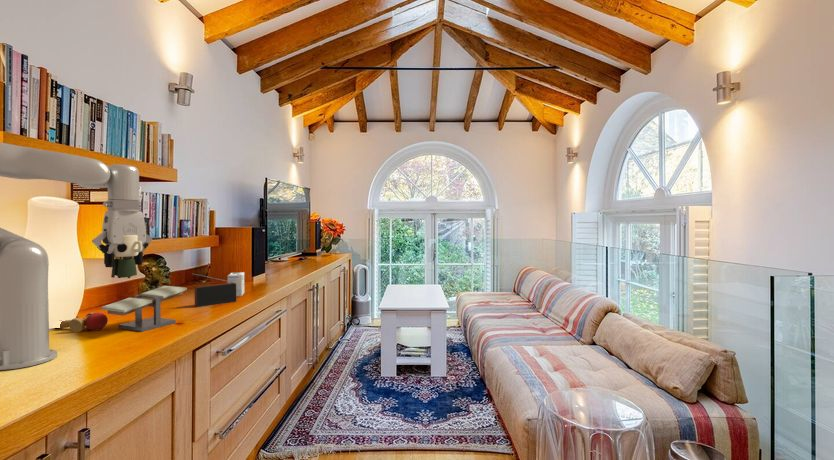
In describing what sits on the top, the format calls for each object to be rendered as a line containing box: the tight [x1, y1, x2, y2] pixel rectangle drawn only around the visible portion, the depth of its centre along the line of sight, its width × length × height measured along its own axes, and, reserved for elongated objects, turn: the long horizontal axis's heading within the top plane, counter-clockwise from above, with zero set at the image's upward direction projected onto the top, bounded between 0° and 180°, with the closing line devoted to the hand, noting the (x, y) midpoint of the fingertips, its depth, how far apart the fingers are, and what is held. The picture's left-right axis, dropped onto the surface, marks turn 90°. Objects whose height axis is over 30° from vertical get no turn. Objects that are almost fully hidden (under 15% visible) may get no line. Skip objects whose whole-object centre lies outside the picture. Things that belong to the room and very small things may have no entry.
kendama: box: [60, 312, 109, 333], centre depth 133 cm, size 8×6×18 cm
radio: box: [190, 272, 237, 308], centre depth 174 cm, size 19×3×15 cm, turn 136°
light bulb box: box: [227, 271, 245, 297], centre depth 196 cm, size 11×7×11 cm, turn 17°
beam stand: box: [118, 294, 177, 333], centre depth 138 cm, size 12×12×10 cm
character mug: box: [110, 235, 142, 279], centre depth 117 cm, size 11×7×13 cm, turn 88°
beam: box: [100, 285, 188, 316], centre depth 137 cm, size 22×12×3 cm, turn 158°
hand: (124, 265), depth 117 cm, fingers closed on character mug, 7 cm apart
